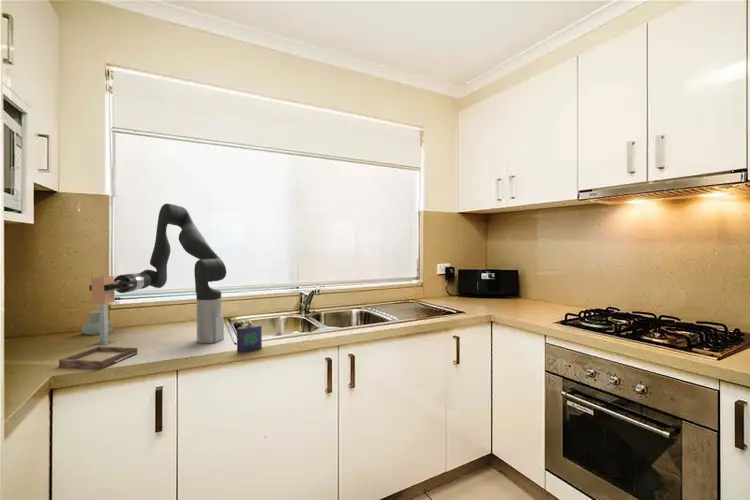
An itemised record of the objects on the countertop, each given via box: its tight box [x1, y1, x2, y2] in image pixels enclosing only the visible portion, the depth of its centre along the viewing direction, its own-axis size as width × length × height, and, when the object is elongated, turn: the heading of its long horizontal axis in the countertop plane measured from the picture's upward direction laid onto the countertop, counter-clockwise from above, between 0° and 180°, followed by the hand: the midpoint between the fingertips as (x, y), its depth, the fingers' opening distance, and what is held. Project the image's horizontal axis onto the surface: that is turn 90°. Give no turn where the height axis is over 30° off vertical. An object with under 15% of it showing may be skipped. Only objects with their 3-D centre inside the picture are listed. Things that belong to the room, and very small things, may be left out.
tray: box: [58, 345, 138, 370], centre depth 124 cm, size 15×15×2 cm
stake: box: [91, 303, 117, 347], centre depth 141 cm, size 6×6×17 cm
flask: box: [236, 321, 263, 354], centre depth 136 cm, size 9×3×11 cm, turn 130°
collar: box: [90, 275, 116, 305], centre depth 140 cm, size 5×5×10 cm
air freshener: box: [81, 310, 115, 336], centre depth 157 cm, size 11×8×10 cm
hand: (97, 288), depth 137 cm, fingers closed on collar, 5 cm apart
